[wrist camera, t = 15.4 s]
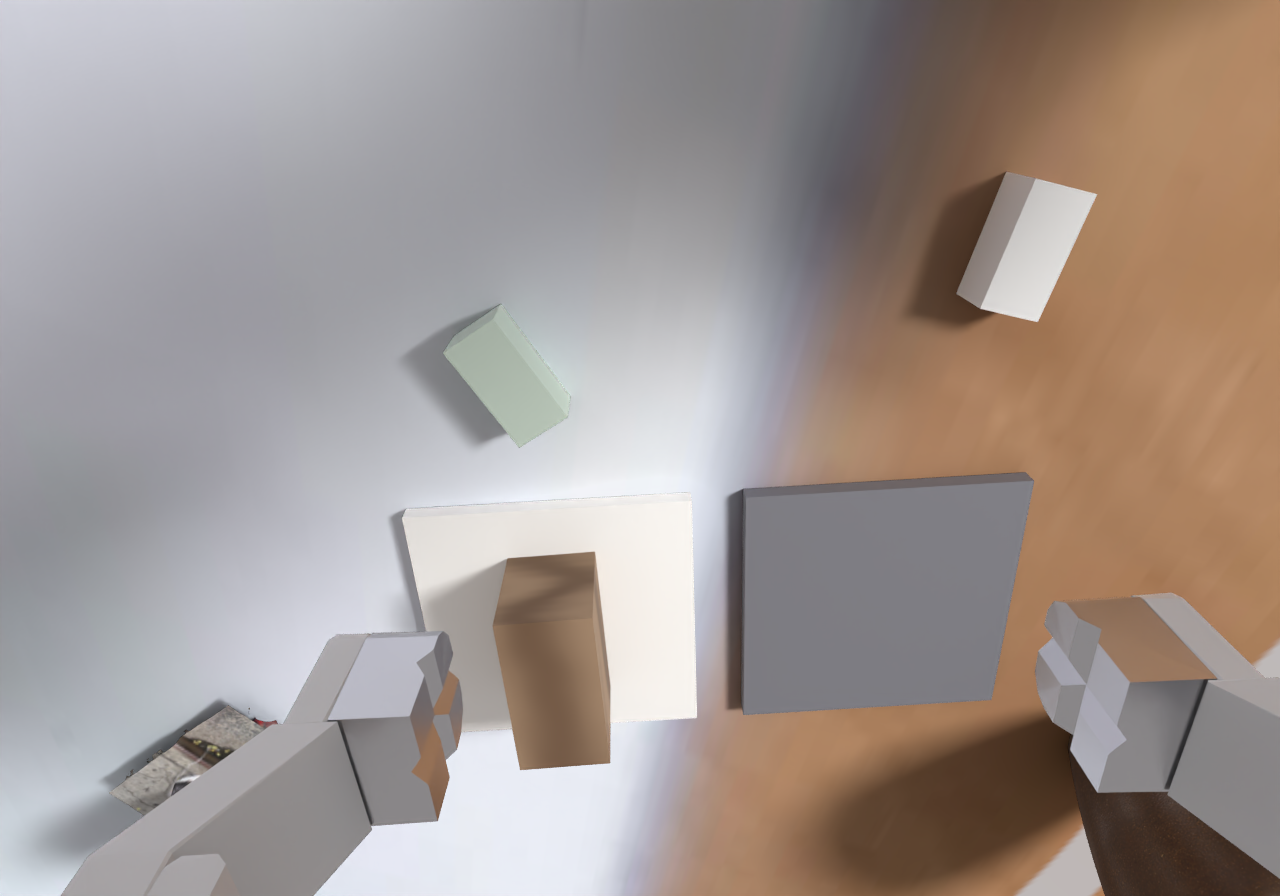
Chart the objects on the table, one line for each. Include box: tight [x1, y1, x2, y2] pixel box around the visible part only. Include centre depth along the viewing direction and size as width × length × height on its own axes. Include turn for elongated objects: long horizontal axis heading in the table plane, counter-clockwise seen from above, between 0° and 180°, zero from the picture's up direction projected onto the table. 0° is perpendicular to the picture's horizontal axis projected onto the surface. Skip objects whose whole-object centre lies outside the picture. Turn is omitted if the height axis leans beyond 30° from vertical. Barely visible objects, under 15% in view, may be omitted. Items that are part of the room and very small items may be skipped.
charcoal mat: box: [741, 472, 1034, 715], centre depth 46 cm, size 16×16×1 cm
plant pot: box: [1068, 734, 1280, 896], centre depth 45 cm, size 15×15×16 cm
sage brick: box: [443, 304, 571, 448], centre depth 39 cm, size 6×3×3 cm, turn 33°
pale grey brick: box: [956, 172, 1097, 322], centre depth 37 cm, size 6×3×3 cm, turn 167°
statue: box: [109, 705, 278, 816], centre depth 45 cm, size 11×9×15 cm
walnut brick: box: [492, 552, 611, 770], centre depth 43 cm, size 5×10×6 cm, turn 4°
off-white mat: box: [402, 492, 697, 732], centre depth 46 cm, size 16×16×1 cm
